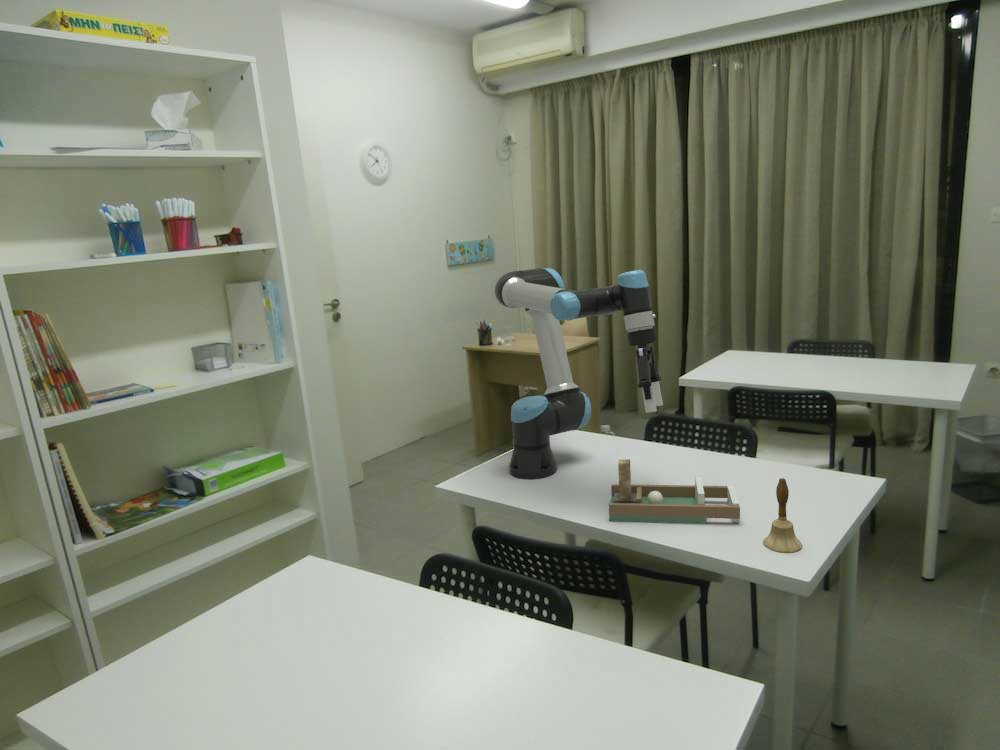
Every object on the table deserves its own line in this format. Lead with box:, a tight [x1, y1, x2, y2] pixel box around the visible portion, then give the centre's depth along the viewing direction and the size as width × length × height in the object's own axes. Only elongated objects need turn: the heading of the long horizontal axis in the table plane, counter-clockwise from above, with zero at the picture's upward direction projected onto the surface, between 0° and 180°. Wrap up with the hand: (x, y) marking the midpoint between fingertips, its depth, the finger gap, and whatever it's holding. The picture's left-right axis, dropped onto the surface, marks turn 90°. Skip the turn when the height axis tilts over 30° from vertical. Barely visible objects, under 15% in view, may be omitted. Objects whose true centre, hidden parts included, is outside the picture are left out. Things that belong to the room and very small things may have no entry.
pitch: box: [608, 476, 741, 525], centre depth 172 cm, size 32×14×8 cm, turn 78°
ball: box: [647, 491, 663, 504], centre depth 173 cm, size 4×4×4 cm
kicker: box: [614, 458, 642, 504], centre depth 173 cm, size 7×8×12 cm
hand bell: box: [762, 477, 803, 554], centre depth 149 cm, size 8×8×16 cm
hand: (654, 408), depth 173 cm, fingers open, 13 cm apart
